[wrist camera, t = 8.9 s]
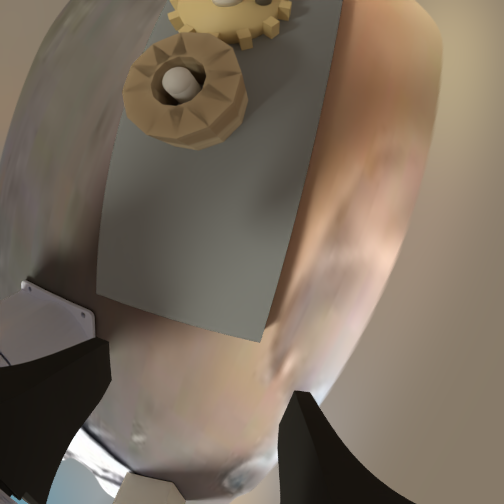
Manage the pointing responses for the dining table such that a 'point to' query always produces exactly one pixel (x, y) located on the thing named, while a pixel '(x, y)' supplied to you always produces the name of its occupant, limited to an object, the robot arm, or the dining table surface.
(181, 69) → the gear board
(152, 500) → the milk carton
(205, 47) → the wooden ring spacer
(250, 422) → the dining table surface
